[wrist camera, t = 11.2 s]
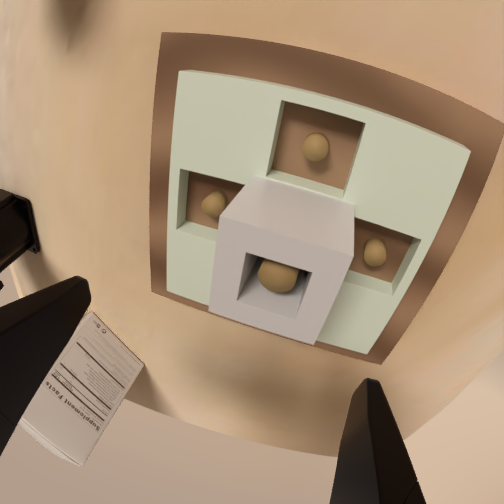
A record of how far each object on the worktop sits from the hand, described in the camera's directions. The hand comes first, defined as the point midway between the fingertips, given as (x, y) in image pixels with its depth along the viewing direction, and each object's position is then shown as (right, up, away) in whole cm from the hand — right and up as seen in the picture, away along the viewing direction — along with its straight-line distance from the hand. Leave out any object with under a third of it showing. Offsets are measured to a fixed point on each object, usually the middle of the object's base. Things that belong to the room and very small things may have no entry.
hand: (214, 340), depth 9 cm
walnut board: (+4, +5, +10) cm, 12 cm away
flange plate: (+3, +4, +8) cm, 10 cm away
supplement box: (-17, -9, +26) cm, 33 cm away
